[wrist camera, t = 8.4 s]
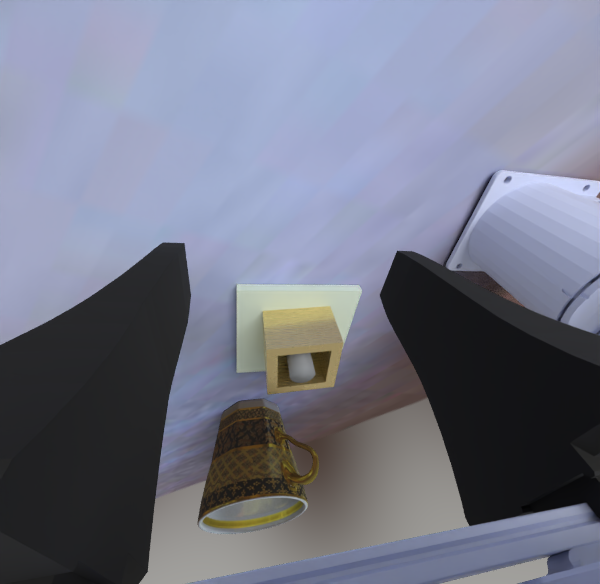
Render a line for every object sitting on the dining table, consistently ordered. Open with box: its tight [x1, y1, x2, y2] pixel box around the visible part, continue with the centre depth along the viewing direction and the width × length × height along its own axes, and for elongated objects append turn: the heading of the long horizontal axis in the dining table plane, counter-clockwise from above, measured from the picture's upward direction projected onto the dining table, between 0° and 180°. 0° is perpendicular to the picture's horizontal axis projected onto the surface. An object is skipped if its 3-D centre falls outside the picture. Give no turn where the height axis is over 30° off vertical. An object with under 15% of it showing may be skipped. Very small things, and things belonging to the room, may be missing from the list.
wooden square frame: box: [263, 306, 344, 394], centre depth 24 cm, size 6×6×4 cm
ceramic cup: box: [198, 399, 319, 534], centre depth 30 cm, size 13×10×10 cm
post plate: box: [237, 284, 362, 383], centre depth 24 cm, size 10×10×5 cm
